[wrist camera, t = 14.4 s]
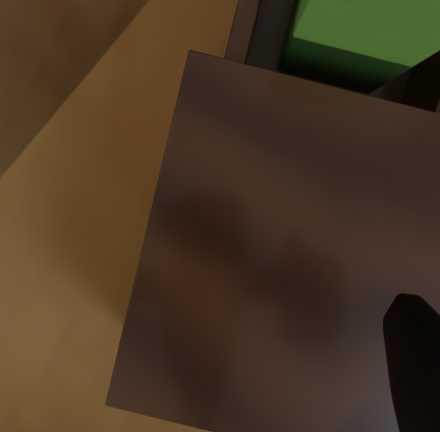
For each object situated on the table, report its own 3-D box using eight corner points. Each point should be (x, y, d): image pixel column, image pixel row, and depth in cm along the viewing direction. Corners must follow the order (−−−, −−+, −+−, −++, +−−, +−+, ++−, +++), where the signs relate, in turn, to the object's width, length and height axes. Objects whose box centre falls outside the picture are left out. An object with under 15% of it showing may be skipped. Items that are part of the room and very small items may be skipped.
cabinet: (199, 91, 20) (188, 48, 14) (415, 146, 20) (503, 128, 14) (139, 339, 21) (104, 406, 15) (345, 389, 21) (397, 477, 15)
